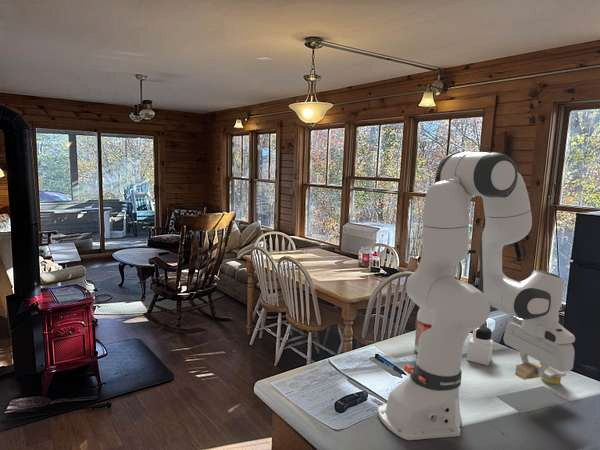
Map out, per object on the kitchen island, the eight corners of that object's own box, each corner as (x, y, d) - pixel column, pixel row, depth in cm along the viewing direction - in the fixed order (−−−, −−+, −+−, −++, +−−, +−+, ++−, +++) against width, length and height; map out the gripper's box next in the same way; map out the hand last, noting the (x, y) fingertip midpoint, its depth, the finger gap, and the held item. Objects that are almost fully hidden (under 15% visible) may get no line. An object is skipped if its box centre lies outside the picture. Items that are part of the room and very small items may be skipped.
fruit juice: (426, 344, 160) (432, 273, 156) (446, 353, 152) (453, 279, 148) (408, 348, 155) (415, 276, 151) (428, 359, 147) (435, 282, 143)
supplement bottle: (562, 388, 131) (566, 359, 129) (544, 386, 132) (547, 357, 131) (555, 380, 136) (559, 352, 135) (538, 377, 137) (541, 350, 136)
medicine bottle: (491, 358, 150) (495, 327, 148) (488, 366, 144) (492, 333, 142) (470, 353, 154) (473, 322, 152) (466, 360, 148) (470, 328, 146)
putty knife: (528, 382, 117) (530, 372, 116) (510, 372, 122) (512, 362, 122) (565, 376, 122) (566, 366, 122) (546, 366, 128) (548, 357, 127)
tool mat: (521, 415, 115) (521, 413, 115) (495, 398, 123) (495, 396, 123) (570, 403, 122) (571, 401, 122) (543, 387, 131) (543, 385, 131)
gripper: (501, 314, 128) (495, 357, 129) (565, 341, 109) (557, 390, 111) (516, 313, 130) (510, 355, 132) (581, 339, 111) (573, 387, 113)
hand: (532, 371), depth 121 cm, fingers closed on putty knife, 3 cm apart
